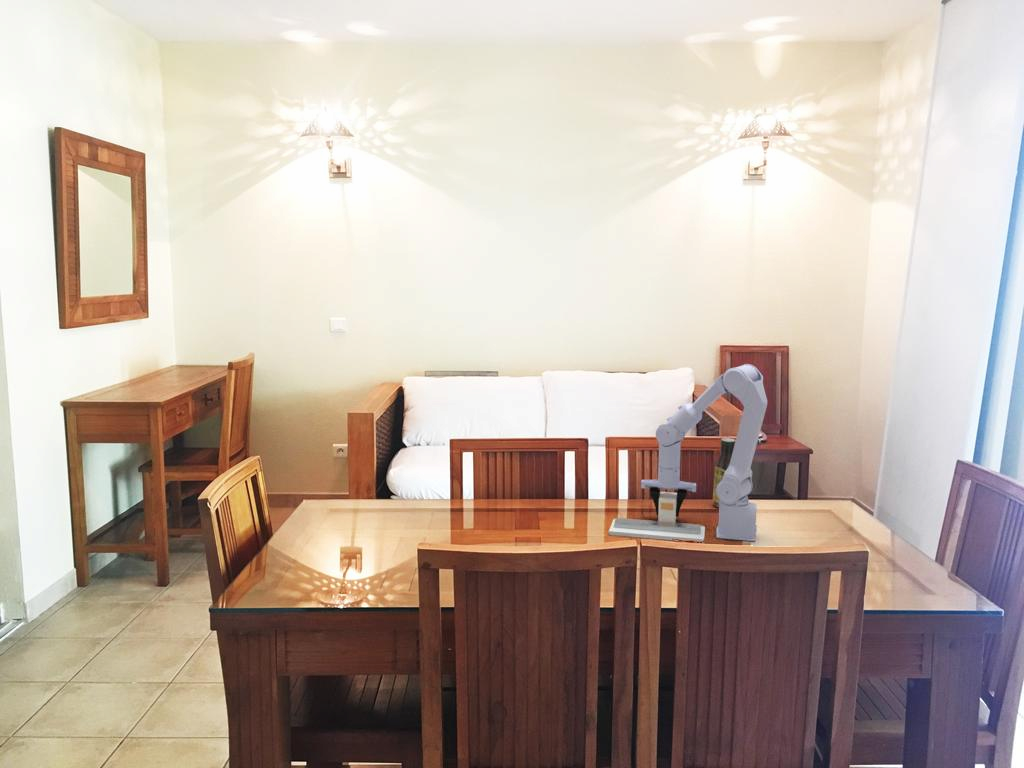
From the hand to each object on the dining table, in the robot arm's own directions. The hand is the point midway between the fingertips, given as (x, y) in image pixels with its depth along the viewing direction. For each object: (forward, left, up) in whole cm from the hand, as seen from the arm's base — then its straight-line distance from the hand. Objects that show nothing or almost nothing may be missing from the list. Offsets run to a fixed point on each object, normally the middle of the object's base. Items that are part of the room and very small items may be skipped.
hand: (667, 515), depth 216 cm
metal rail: (+2, +10, -2) cm, 10 cm away
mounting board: (+2, +10, -2) cm, 10 cm away
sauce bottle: (-15, -17, -2) cm, 23 cm away
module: (0, 0, -2) cm, 2 cm away
